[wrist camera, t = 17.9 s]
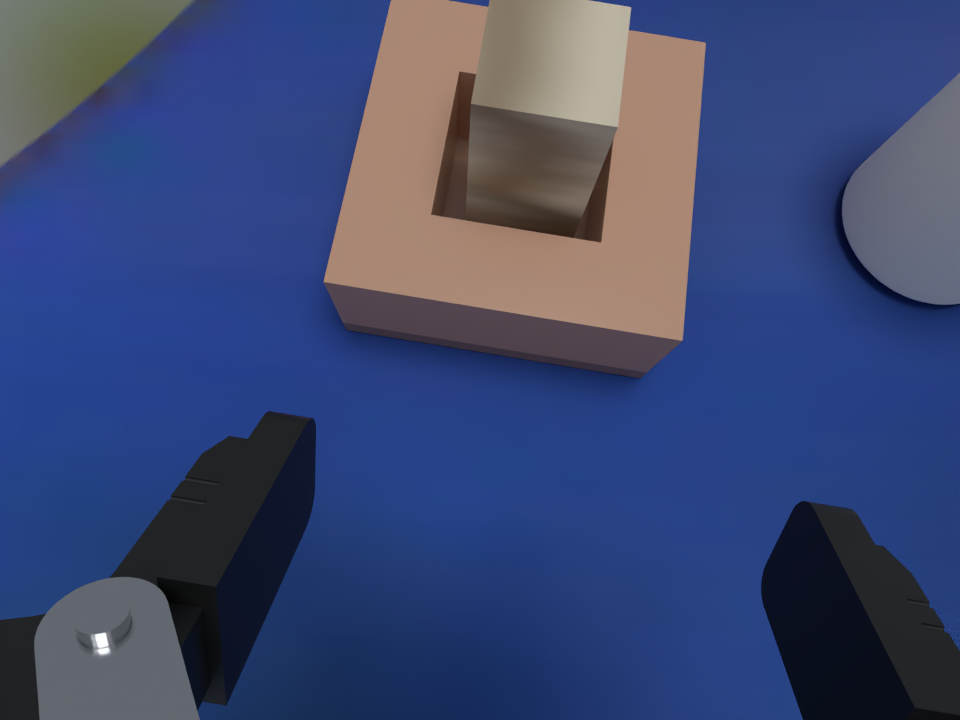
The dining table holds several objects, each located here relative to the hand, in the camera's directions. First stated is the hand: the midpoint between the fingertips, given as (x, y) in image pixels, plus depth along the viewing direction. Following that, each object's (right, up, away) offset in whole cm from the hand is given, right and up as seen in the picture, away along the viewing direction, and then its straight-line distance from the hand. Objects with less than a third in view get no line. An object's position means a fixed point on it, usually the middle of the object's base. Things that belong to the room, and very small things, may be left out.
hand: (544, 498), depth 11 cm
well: (+1, +9, +20) cm, 22 cm away
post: (+1, +9, +19) cm, 21 cm away
